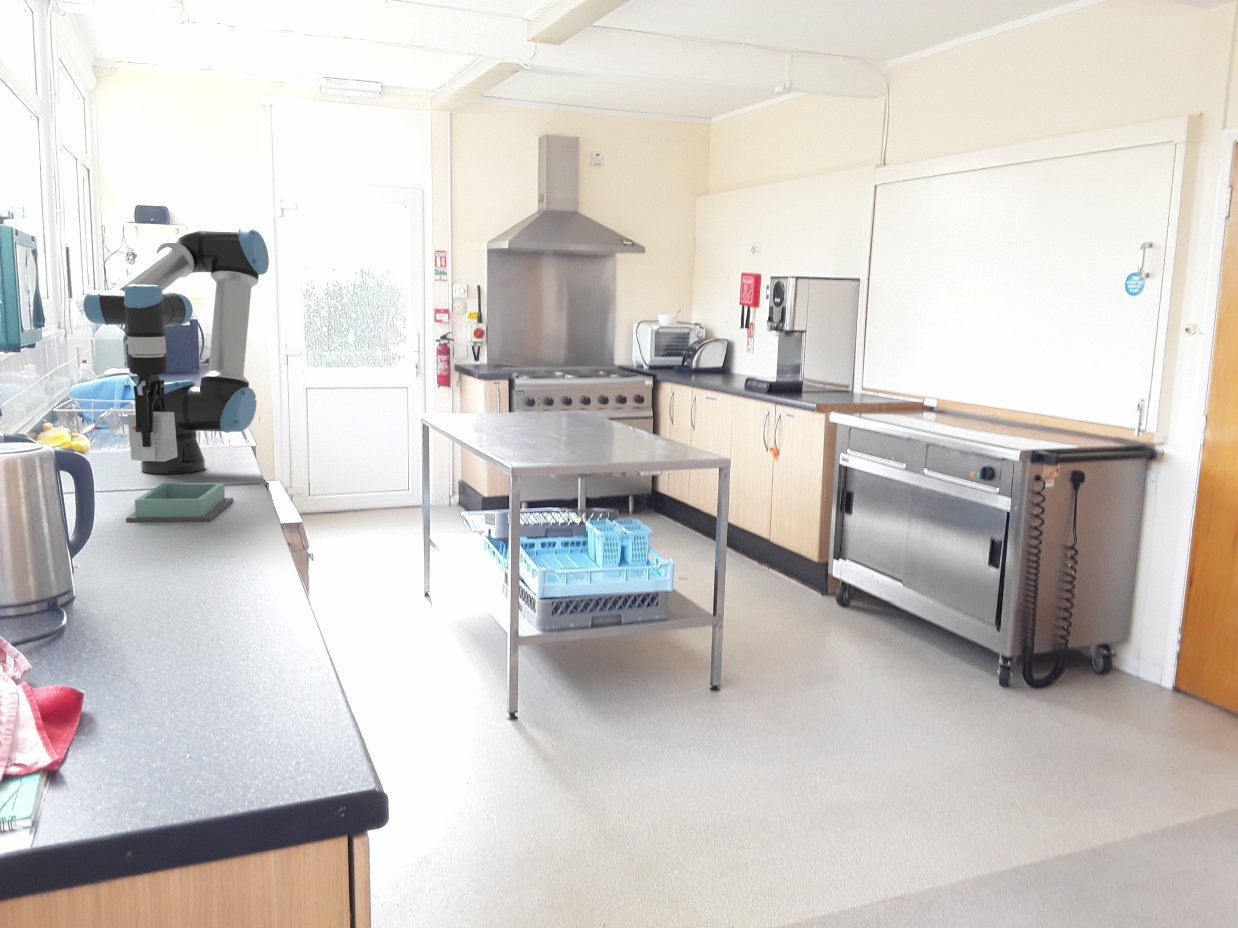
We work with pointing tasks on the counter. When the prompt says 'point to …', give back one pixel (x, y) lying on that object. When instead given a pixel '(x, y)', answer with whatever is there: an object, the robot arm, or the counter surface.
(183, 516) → the caddy
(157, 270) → the robot arm
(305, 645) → the counter surface
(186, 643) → the counter surface
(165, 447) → the small box
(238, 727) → the counter surface
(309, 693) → the counter surface
